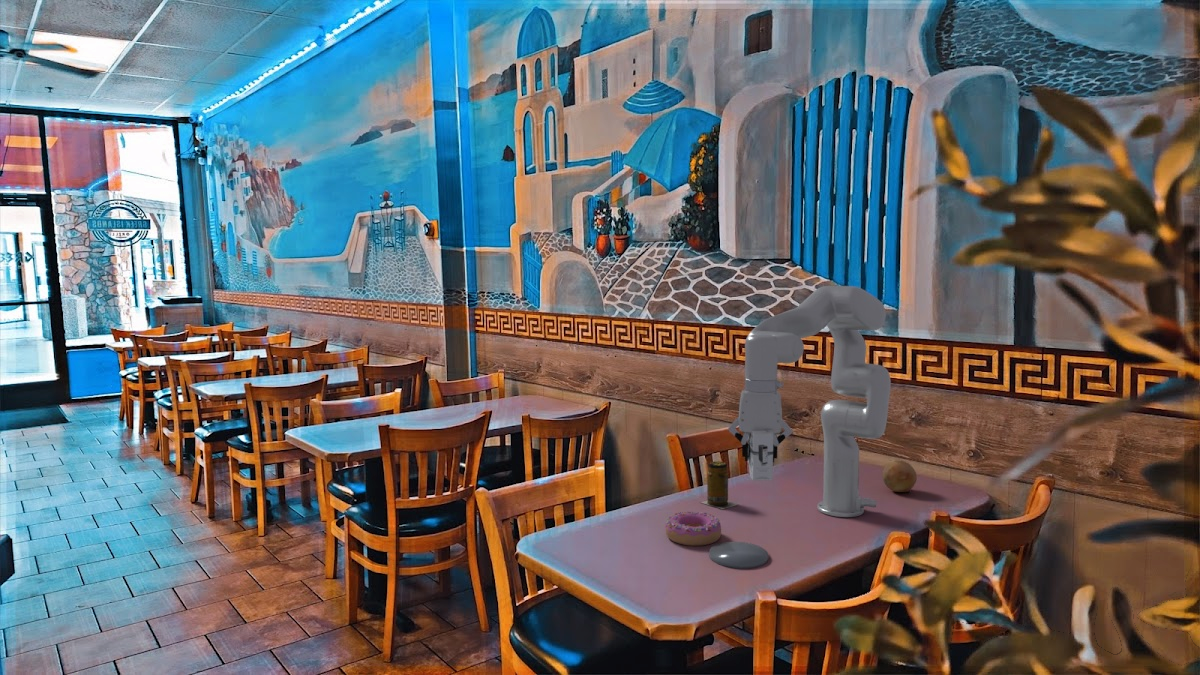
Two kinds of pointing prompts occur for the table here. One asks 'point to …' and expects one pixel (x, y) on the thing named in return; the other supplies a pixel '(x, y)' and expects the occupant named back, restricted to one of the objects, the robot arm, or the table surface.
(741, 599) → the table surface
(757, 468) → the ink box
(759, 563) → the grey oval disc
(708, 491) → the condiment
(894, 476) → the onion
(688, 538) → the donut
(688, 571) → the table surface
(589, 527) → the table surface
